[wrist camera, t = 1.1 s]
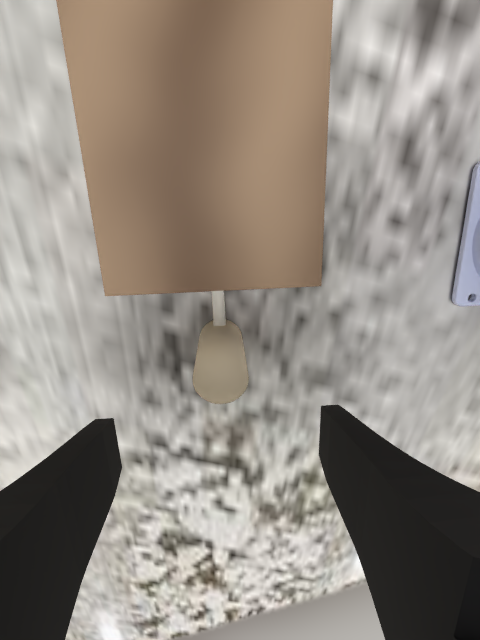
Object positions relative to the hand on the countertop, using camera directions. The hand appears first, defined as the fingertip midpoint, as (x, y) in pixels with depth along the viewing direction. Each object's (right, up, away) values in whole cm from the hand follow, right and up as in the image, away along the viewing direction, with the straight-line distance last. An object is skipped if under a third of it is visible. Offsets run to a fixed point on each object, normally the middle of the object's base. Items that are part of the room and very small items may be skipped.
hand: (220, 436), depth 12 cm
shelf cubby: (-1, +13, +6) cm, 14 cm away
